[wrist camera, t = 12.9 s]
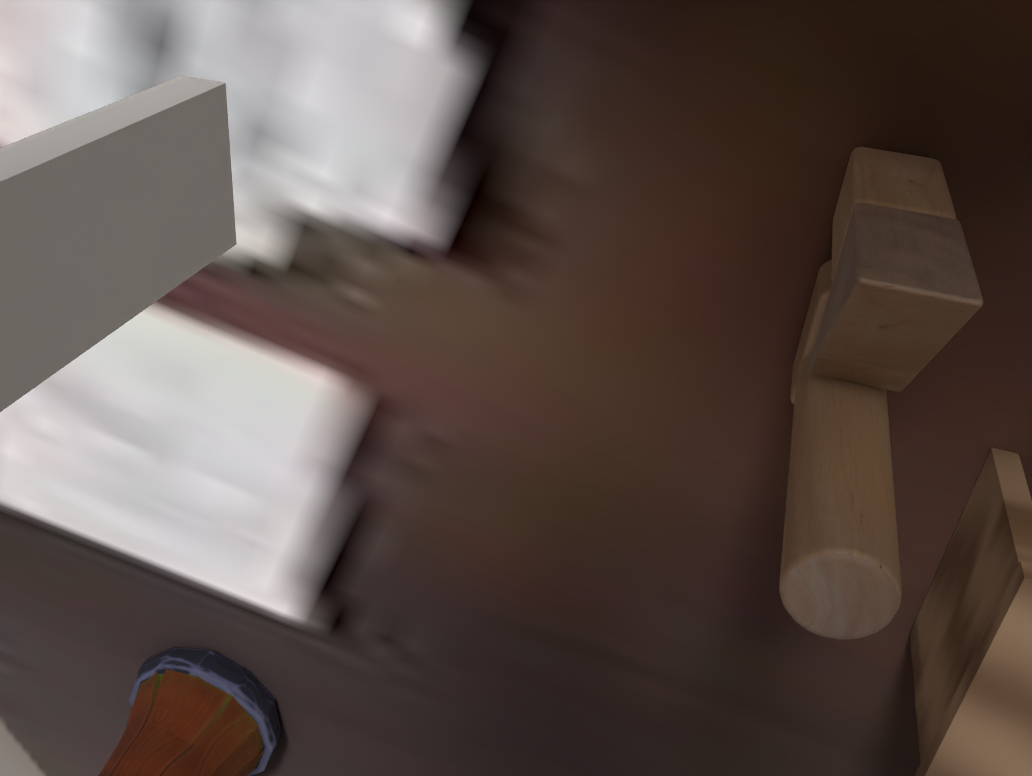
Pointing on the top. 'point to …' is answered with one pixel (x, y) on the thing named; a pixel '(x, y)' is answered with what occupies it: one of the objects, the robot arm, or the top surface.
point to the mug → (196, 719)
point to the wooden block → (866, 385)
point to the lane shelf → (979, 635)
